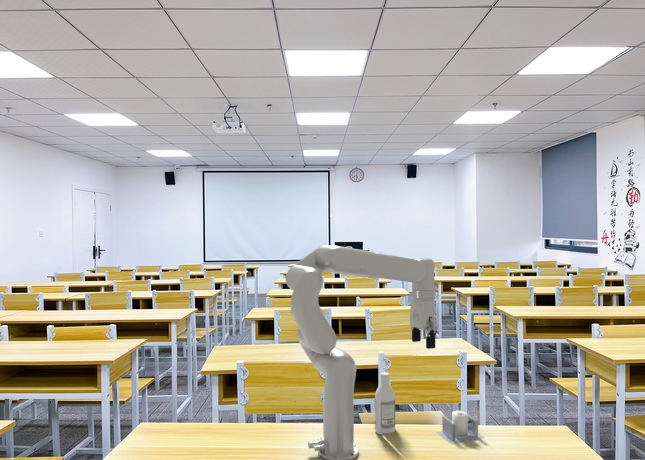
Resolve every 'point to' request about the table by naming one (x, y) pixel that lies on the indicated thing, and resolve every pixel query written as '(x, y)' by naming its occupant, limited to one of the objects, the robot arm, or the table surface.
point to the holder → (461, 438)
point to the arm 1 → (448, 428)
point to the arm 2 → (472, 425)
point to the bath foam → (384, 407)
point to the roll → (460, 423)
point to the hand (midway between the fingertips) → (423, 344)
